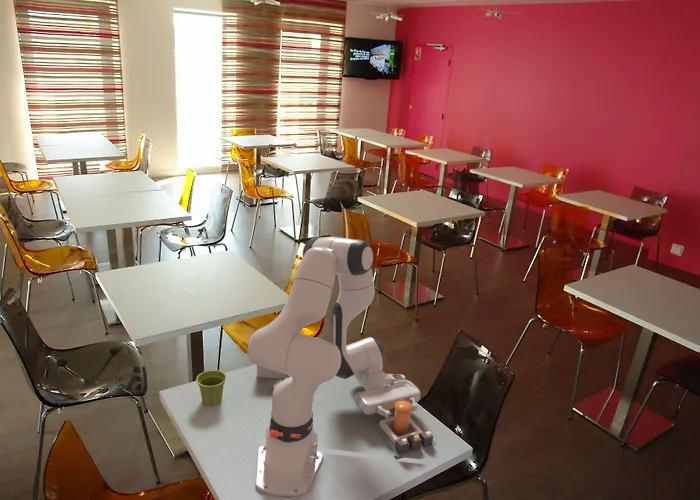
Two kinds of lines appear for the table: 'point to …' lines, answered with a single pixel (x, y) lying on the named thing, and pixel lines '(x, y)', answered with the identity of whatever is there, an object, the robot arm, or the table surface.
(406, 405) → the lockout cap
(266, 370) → the light bulb box
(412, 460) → the table surface
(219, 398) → the plant pot
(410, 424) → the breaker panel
